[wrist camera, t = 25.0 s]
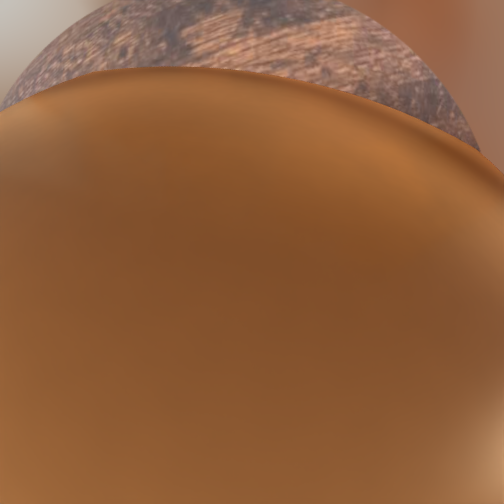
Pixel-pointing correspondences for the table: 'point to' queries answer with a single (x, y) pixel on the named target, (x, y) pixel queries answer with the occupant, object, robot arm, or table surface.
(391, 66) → the table surface
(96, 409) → the lid
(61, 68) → the table surface
